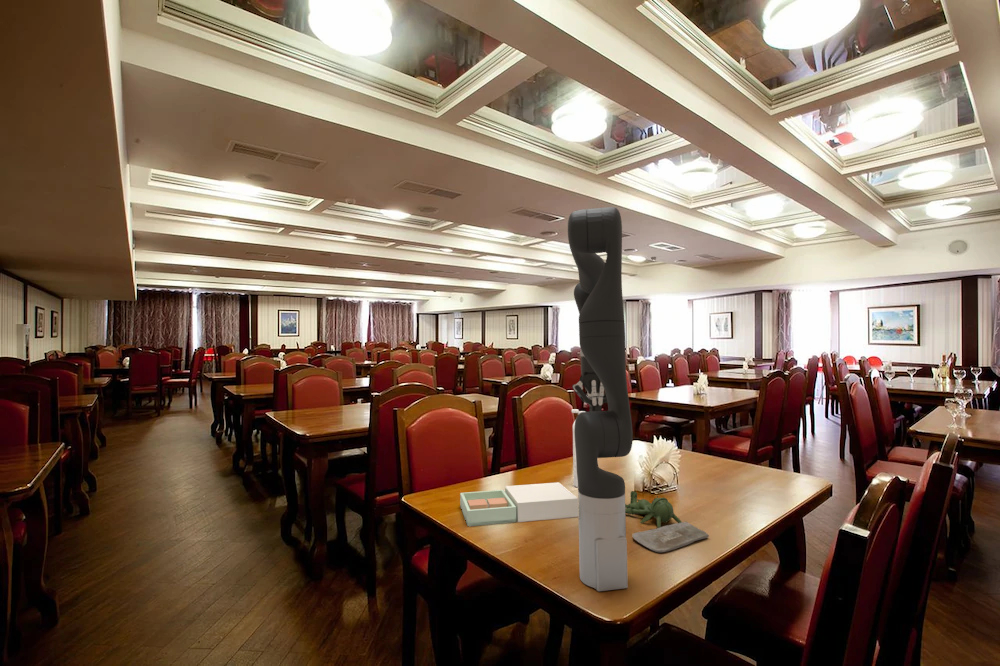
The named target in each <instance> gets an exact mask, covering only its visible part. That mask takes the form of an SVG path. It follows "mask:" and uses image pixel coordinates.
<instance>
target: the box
mask: <svg viewBox="0 0 1000 666" xmlns="http://www.w3.org/2000/svg"><path fill="white" fill-rule="evenodd" d="M459 497H460V500H459V504H460V505H459V507H460V509H462V510H461V512H462V515H463V517H464V520H466V521H465V522H466V526H467V527H468V526H469V527H477V526H488V525H489V526H490V525H500V524H501V525H502V524H512V523H517V520H516V506H515V505H514V504H513V502H512V501H511V499H510V498H509V497H508V495H507V494H506V493H505V489H496V490H495V489H494V490H493V489H492V490H481V491H469V492H466V491H465V492H460V494H459ZM491 498H505V500H506V501H507V503H508V507H498V508H486V509H473V510H470V508H469V506H468V503H467V500H476V499H485V500H486V502H487V499H491Z"/></svg>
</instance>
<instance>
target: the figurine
mask: <svg viewBox="0 0 1000 666" xmlns="http://www.w3.org/2000/svg"><path fill="white" fill-rule="evenodd" d="M625 514H627V515H632V516H634V515H637V514H639V515H645V516H644V517H643V518H642V519H641V520H640V522H639V524H644V523H646V522H648V521H650V519H651V518H652V517H653V518H654V519H656V526H657V528H660V527H662V523H665V524H667V523H668V522H669V521H670V520H671V519H673V520H674V521H675V522H676V523H681V522H682V520H681V519H680V518H679V516H677V515H676V514H675V513H674V507H673V505H672V503H671V502H670V501H669V500H668V499H667V498H666V497H658V495H656V497H654V498H653V500H652V501H651V502H650V501H649V500H647V499H644V498H642V499H638V492H637V491H635V490H632V491H630V503H629V504H626V503H625Z"/></svg>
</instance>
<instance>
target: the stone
mask: <svg viewBox="0 0 1000 666" xmlns="http://www.w3.org/2000/svg"><path fill="white" fill-rule="evenodd" d="M631 535H632V539H634V540H635V541H636V542H637V543H639V544H640V545H642V546H643V547H646V548H647V549H649V550H650V551H653V552H655V553H659V554H660V553H666V552H670V551H673V550H677V549H678V548H682V547H685V546H687V545H690V544H693V543H694V542H697V541H700V540H705V539H708V538H709V537H710V534H709V533H707V532H706V531H705V530H703V529H699V528H698V527H697V526H694V525H693V524H691V523H689V522H687V521H681V523H678V522H676V523H672V524H667V525H663V526H661V527H660V528H658V527H657V528H653V529H648V530H644V531H637V532H634V533H632V534H631Z"/></svg>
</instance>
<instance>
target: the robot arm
mask: <svg viewBox="0 0 1000 666" xmlns="http://www.w3.org/2000/svg"><path fill="white" fill-rule="evenodd" d="M622 223H623V222H622V217H621V213H620V210H619V209H618V208H617V207H615V206H614V207H612V206H610V207H609V206H608V207H599V208H598V207H597V208H594V207H593V208H584V209H578V210H574V211H572V212H571V213H570V214H569V217H568V220H567V239H568V245H569V250H570V252H571V254H572V257H573V261H574V263H575V265H576V268H577V271H578V272H577V273H578V281H579V282H578V283H576V285H575V286H574V289H573V297H574V301H575V305H576V307H577V310H578V314H579V315H578V332H579V333H578V336H579V339H578V340H579V346H580V352H579V354H580V377H579V381H578V382H577V383H575V384H572V385H571V386H572V389H573V390H574V392H575V393H576V394H577V396H578V397H579V398H580V399H581V401H582V403H585V404H588V405H589V411H585V412H581V413H580V414H579V413H577V416H576V418H575V420H576V421H575V420H574V421H575V447H576V463H577V478H578V488H577V490H578V493H577V494H578V495H577V498H578V557H579V559H578V561H579V565H578V566H579V579H580V581H581V582H582V583H583V584H584V585H586V586H588V587H590V588H594V589H595V590H596V591H597V592H605V591H612V590H621V589H628V579H629V578H628V548H627V547H628V541H627V540H628V539H627V533H626V532H627V529H626V528H627V527H626V525H627V524H626V522H627V521H626V520H627V519H626V513H625V504H626V483H625V479H624V478H623V477H622V476H620V475H619V474H616V473H615V472H612V471H607V470H605V469H602V468H601V467H599V463H598V462H599V461H598V459H602V458H603V459H604V458H606V459H607V458H622V457H623V458H624V457H626V456H628V455H629V454H630V452H631V450H632V447H633V435H634V434H633V433H634V432H633V424H632V422H633V421H632V414H631V408H630V407H631V406H630V398H629V391H628V382H627V381H628V380H627V367H626V366H627V365H626V364H627V363H626V328H625V326H626V325H625V324H626V323H625V312H624V310H625V309H624V298H623V297H624V296H623V285H622V283H623V281H622V275H623V274H622V273H623V272H622V271H623V270H622V268H623V267H622V265H623V261H622V260H623V259H622V258H623V257H622V256H623V255H622V254H623V226H622V225H623V224H622ZM601 253H603V254H604V253H606V259H605V261H604V259H603V258H602V257H601V256H600V255H598V254H601ZM583 389H584V390H585V391H586V392H587V393H586V392H585V391H584V390H583ZM604 404H607V410H602V409H603V408H602V407H603V405H604Z"/></svg>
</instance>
